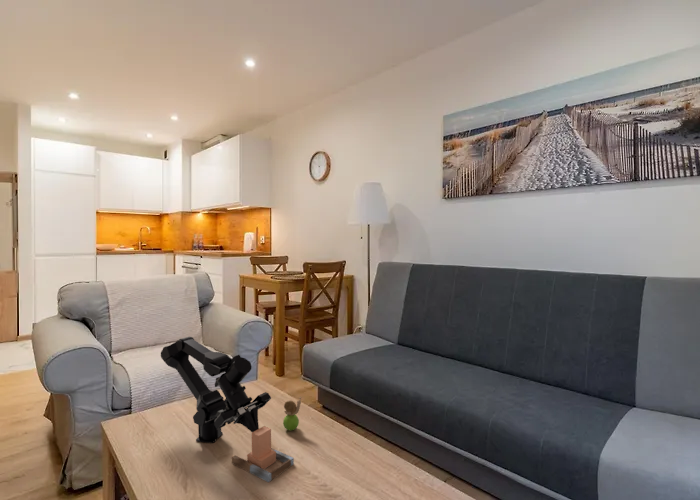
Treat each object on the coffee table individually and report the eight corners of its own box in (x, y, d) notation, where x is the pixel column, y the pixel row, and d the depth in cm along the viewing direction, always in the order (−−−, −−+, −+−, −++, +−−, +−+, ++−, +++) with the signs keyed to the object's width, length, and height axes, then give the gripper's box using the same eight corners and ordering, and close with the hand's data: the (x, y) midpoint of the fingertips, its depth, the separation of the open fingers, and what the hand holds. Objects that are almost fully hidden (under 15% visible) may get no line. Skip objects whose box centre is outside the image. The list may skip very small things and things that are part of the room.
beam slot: (231, 463, 122) (231, 456, 122) (257, 447, 130) (257, 441, 130) (268, 482, 113) (268, 475, 113) (293, 464, 122) (293, 457, 121)
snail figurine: (298, 434, 139) (298, 400, 138) (280, 432, 140) (280, 398, 139) (303, 426, 144) (303, 394, 143) (286, 424, 145) (286, 392, 144)
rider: (247, 464, 121) (246, 432, 121) (262, 454, 126) (261, 423, 125) (261, 471, 118) (260, 438, 117) (276, 461, 123) (275, 429, 122)
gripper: (244, 393, 139) (267, 433, 134) (196, 414, 124) (220, 460, 118) (259, 375, 134) (284, 417, 129) (212, 395, 119) (237, 443, 113)
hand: (257, 434), depth 122 cm, fingers closed, pressing on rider
